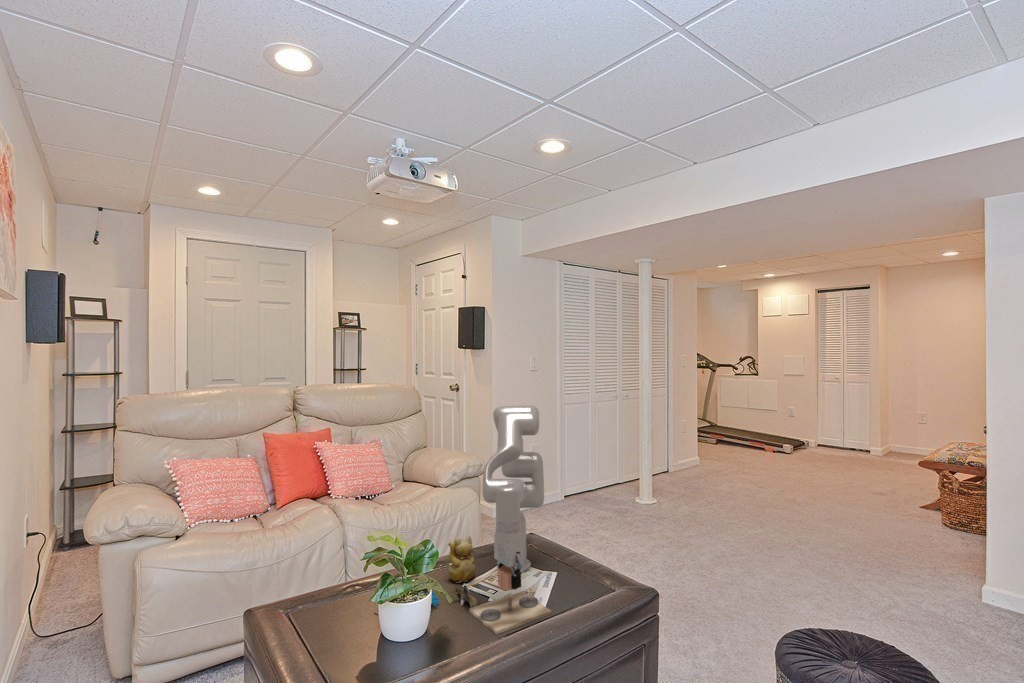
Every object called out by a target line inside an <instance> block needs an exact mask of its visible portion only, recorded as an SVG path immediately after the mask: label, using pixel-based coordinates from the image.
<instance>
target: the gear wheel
mask: <svg viewBox="0 0 1024 683" xmlns="http://www.w3.org/2000/svg"><path fill="white" fill-rule="evenodd" d="M514 568H515V571H516V570H517V566H516V567H514ZM512 575H513V574H512V570H511V568H509V567H507V566H505V565H503V566H502V567H500V568H498V567H497V585H498V588H499V589H500V590H504V591H517V590H518V588H516V589H512V585H511V576H512Z"/></svg>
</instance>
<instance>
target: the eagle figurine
mask: <svg viewBox="0 0 1024 683" xmlns="http://www.w3.org/2000/svg"><path fill="white" fill-rule="evenodd" d="M454 588H455V589H454V590H452V589H451V588H450V589H449V592H451V593H453V594H454V595H456V596H457V599H458V600H459V601H460V608H461V607H462V606H464V603H465V602H468V604H469V606H470V608H473V607H476V606H479V605H481V604H480V602H479V600H478V599H477V598H476V596H474V595H473V594H471V593H469V592H470V591H469V587H468V585H467V584H466V583H463V590H462V588H461V587H460V586H459V588H458V587H454ZM470 608H469V609H470Z"/></svg>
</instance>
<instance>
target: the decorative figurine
mask: <svg viewBox="0 0 1024 683" xmlns="http://www.w3.org/2000/svg"><path fill="white" fill-rule="evenodd" d="M472 543H473V542H472V536H470V535H468V534H467V535H466V537H465V539H464V540H462V539H461V538H460V537H459V536H455V538H454V540H453V541H450V542H448V544H447V546H449V548H450V550H449V561H450V563H451V564H450V565H449V567H448V573H449V574H448V576H449V579H451V580H452V581H454V582H455V581H456V582H459V581H466V580H469V581H470V580H471V579H473V577H474V576H475V572H476V564H475V561H476V560H475V557H474V556H473V555H472V552H473V549H474V548H473V544H472ZM456 582H455V583H456Z"/></svg>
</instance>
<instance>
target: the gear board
mask: <svg viewBox="0 0 1024 683" xmlns="http://www.w3.org/2000/svg"><path fill="white" fill-rule="evenodd" d="M468 611H469V614H471V615H473V616H474V617H475V618H476V619H477V620H478V621H480V622H481V623H482V624H483V625H484V626H485V627H487V628H488V629H489V630H490V631H492V632H493V633H494V634H495V635H499V634H501V633H505V632H507V631H510V630H512V629H515V628H518V627H520V626H523V625H525V624H528V623H532V622H534V621H536V620H540V619H541V618H545V617H547V616H550V615H552V610H551V609H550V608H548V607H546V606H545V605H544V604H542V603H541V602H539V600H538V598H536V597H535V596H530V595H529V594H527V593H526V592H524V591H522V590H521V591H518V592H515V593H513V594H509V595H505V596H503V597H500V598H496V599H495V600H490V601H488V602H486V603H482V604H480V605H479V606H476V607H473V608H469V610H468Z"/></svg>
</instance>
